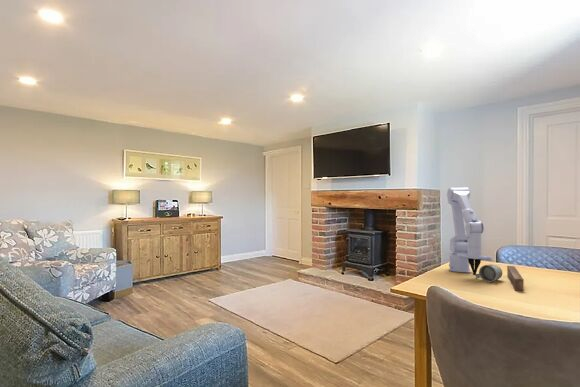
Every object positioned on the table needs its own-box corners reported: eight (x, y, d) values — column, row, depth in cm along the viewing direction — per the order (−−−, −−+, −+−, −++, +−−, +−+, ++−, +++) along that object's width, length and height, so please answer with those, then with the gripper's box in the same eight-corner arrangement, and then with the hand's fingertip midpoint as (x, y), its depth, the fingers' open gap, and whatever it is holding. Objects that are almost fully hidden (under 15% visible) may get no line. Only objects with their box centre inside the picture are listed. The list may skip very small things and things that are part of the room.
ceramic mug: (503, 280, 152) (503, 264, 152) (496, 283, 147) (496, 266, 147) (479, 276, 160) (479, 260, 160) (472, 279, 155) (471, 263, 155)
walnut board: (514, 290, 137) (514, 278, 137) (507, 275, 160) (507, 265, 160) (523, 291, 135) (523, 279, 135) (514, 276, 158) (514, 266, 158)
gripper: (457, 246, 155) (457, 275, 155) (492, 249, 148) (492, 278, 148) (457, 244, 161) (457, 271, 161) (491, 246, 154) (491, 275, 154)
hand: (474, 274), depth 155 cm, fingers closed
